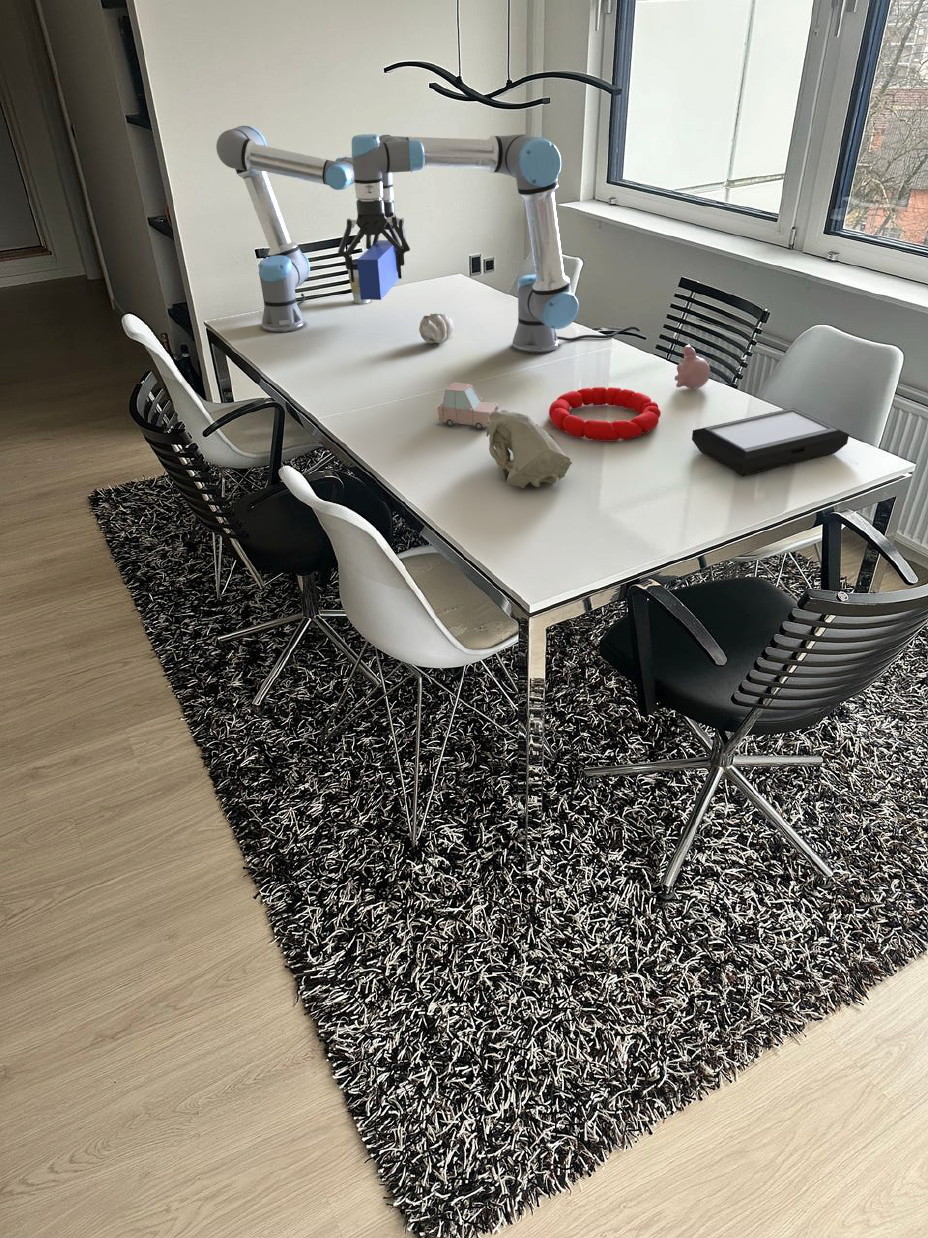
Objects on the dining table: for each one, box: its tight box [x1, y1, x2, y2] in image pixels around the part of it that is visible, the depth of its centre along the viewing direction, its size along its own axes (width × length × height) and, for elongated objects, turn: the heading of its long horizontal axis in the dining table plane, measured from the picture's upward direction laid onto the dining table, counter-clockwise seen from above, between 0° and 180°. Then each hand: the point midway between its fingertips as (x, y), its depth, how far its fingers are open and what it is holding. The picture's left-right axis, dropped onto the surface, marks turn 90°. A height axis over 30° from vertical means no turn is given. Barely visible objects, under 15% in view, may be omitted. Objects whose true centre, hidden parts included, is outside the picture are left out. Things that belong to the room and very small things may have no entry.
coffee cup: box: [347, 258, 371, 305], centre depth 347 cm, size 10×10×15 cm
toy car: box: [437, 382, 499, 431], centre depth 243 cm, size 9×15×10 cm, turn 70°
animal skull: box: [485, 409, 573, 489], centre depth 216 cm, size 17×25×20 cm
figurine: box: [674, 344, 711, 390], centre depth 259 cm, size 9×11×12 cm
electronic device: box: [691, 407, 850, 477], centre depth 222 cm, size 32×6×20 cm
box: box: [356, 239, 400, 301], centre depth 310 cm, size 30×7×13 cm, turn 171°
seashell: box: [418, 312, 454, 344], centre depth 302 cm, size 10×15×10 cm
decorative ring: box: [548, 386, 661, 442], centre depth 242 cm, size 7×30×30 cm
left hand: (388, 269), depth 321 cm, fingers closed on box, 7 cm apart
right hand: (376, 279), depth 256 cm, fingers open, 13 cm apart
